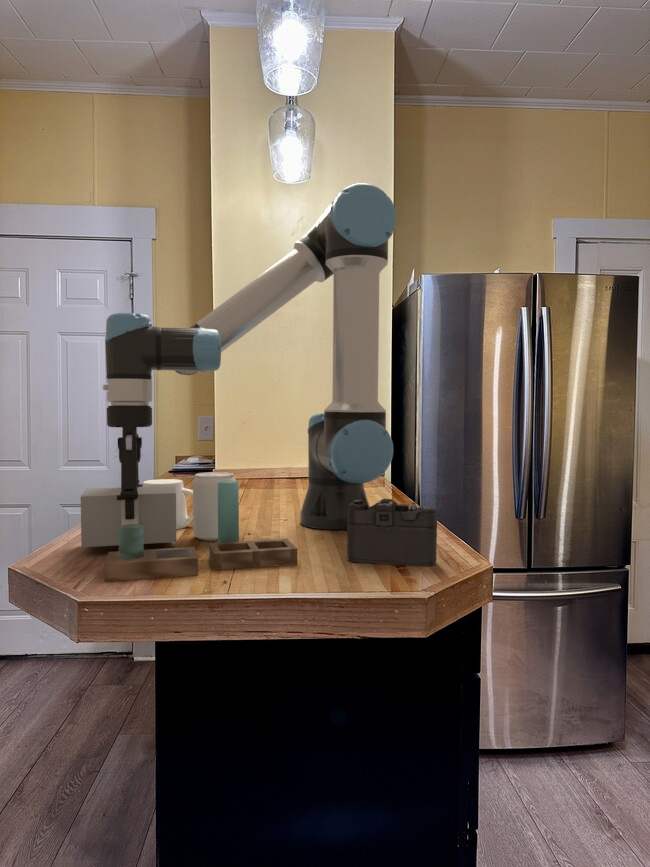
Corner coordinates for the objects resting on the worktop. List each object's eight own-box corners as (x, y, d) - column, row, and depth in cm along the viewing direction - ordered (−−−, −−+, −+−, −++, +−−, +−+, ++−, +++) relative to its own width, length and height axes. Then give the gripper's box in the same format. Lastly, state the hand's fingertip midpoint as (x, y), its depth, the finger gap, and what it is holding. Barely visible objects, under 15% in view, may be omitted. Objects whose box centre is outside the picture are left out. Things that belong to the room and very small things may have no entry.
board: (194, 562, 99) (194, 518, 99) (198, 574, 92) (197, 527, 92) (108, 568, 96) (107, 522, 96) (105, 581, 89) (104, 532, 88)
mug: (133, 483, 125) (146, 478, 132) (134, 530, 125) (147, 522, 133) (192, 484, 124) (202, 479, 132) (193, 530, 124) (203, 523, 132)
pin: (237, 549, 108) (237, 480, 108) (240, 554, 105) (239, 483, 104) (217, 550, 107) (216, 481, 107) (219, 555, 104) (218, 483, 103)
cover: (174, 530, 116) (173, 485, 116) (176, 542, 107) (175, 493, 106) (87, 535, 112) (86, 488, 112) (81, 547, 103) (80, 496, 102)
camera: (436, 552, 107) (437, 494, 106) (436, 568, 96) (437, 504, 96) (353, 548, 109) (354, 492, 109) (345, 564, 99) (345, 501, 98)
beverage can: (227, 542, 113) (227, 477, 113) (186, 540, 115) (185, 476, 115) (242, 533, 121) (242, 472, 121) (203, 532, 123) (202, 471, 122)
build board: (287, 553, 105) (287, 538, 105) (297, 564, 98) (297, 548, 98) (209, 558, 102) (209, 543, 102) (213, 570, 95) (213, 553, 95)
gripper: (110, 404, 118) (112, 521, 119) (101, 404, 96) (103, 547, 97) (151, 404, 120) (153, 519, 121) (152, 404, 98) (153, 544, 99)
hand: (131, 531), depth 109 cm, fingers closed on cover, 10 cm apart
